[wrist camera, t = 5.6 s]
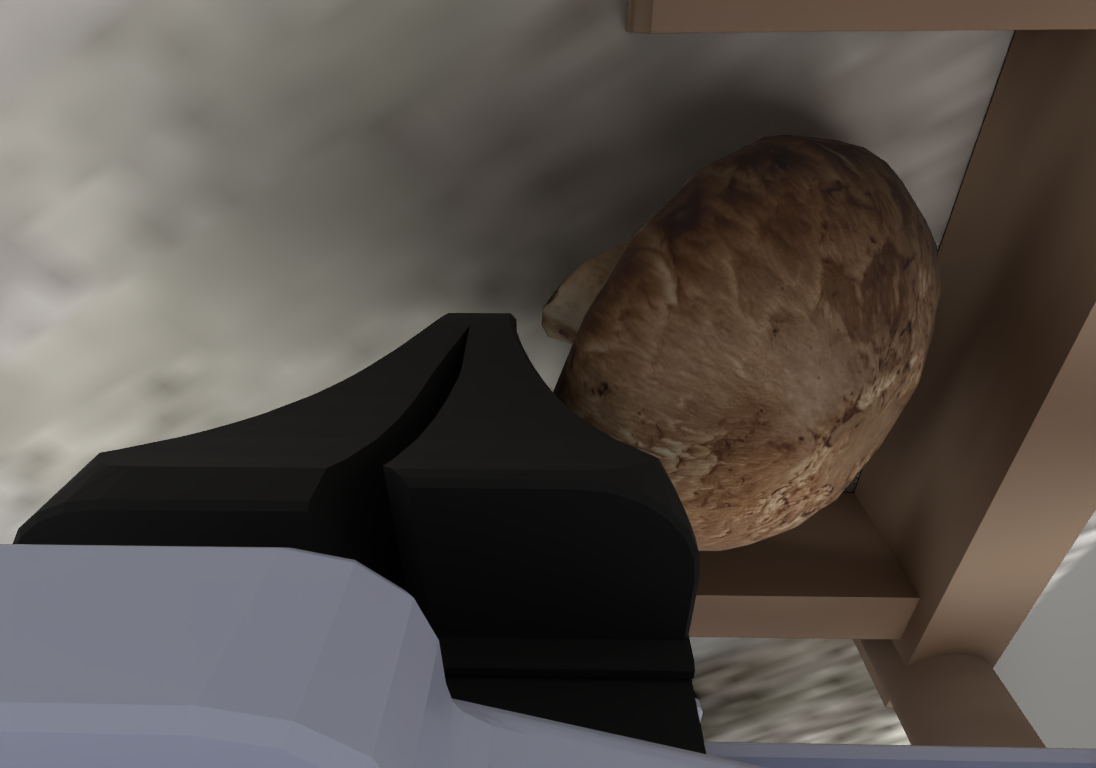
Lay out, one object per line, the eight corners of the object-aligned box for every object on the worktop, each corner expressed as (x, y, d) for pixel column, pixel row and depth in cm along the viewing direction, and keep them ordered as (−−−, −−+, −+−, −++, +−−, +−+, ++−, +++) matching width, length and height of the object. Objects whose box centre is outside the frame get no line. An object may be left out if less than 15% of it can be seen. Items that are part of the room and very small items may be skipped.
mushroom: (372, 369, 11) (591, 623, 6) (629, -5, 10) (1042, 11, 6) (594, 470, 17) (781, 636, 12) (763, 239, 16) (1015, 331, 12)
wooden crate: (893, 583, 18) (1026, 803, 13) (596, 580, 18) (610, 796, 13) (1273, -269, 8) (2356, -726, 3) (641, -257, 9) (755, -673, 4)
